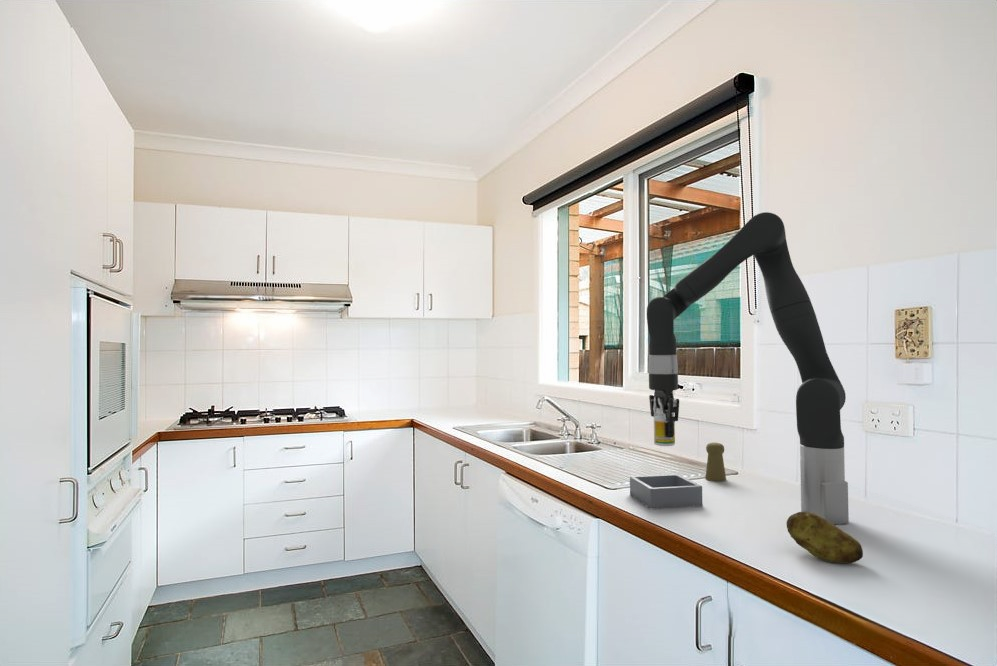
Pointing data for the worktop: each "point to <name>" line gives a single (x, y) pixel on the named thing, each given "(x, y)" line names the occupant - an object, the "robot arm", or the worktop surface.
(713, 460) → the cork
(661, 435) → the supplement bottle
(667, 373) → the robot arm
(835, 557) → the potato
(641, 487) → the box
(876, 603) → the worktop surface
